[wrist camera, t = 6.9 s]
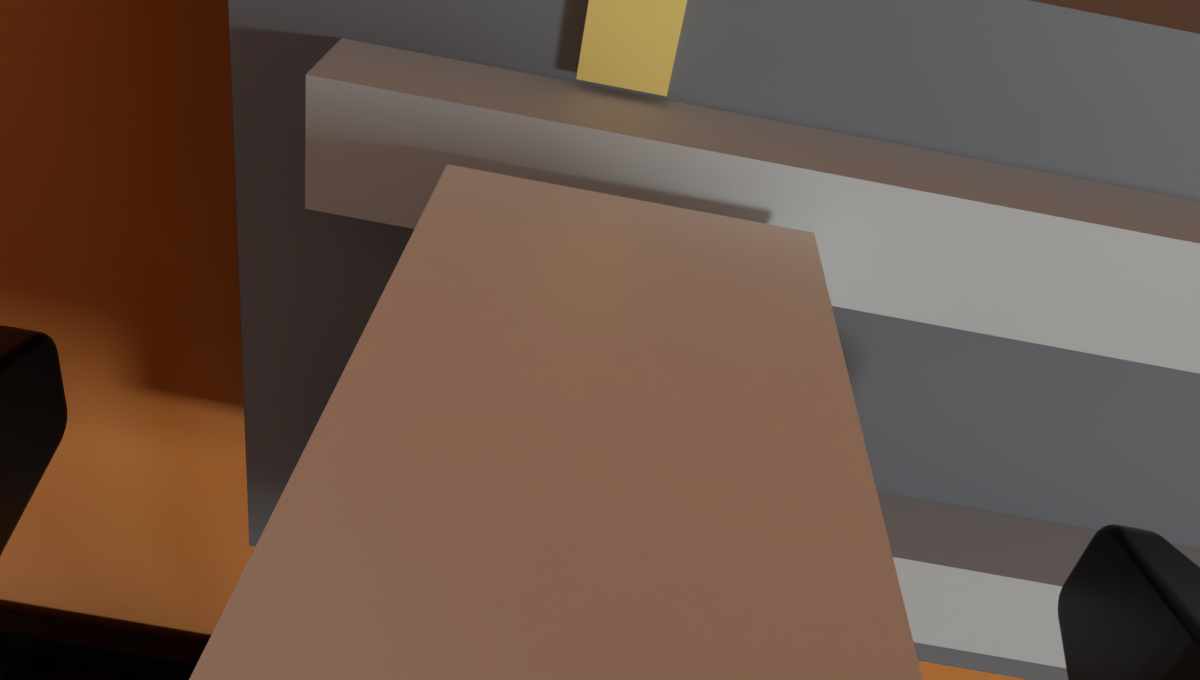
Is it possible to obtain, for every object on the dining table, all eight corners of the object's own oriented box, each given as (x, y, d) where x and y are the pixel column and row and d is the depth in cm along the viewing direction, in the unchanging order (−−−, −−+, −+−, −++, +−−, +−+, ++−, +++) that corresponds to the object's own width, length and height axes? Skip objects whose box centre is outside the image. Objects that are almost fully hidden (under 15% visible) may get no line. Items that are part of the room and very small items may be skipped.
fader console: (312, 421, 14) (218, 607, 11) (318, -189, 10) (166, -141, 7) (1299, 596, 15) (1449, 816, 12) (1719, 87, 10) (2119, 239, 8)
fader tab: (436, 473, 11) (229, 1134, 6) (473, 111, 9) (178, 694, 4) (693, 519, 11) (701, 1204, 6) (798, 172, 9) (957, 824, 4)
